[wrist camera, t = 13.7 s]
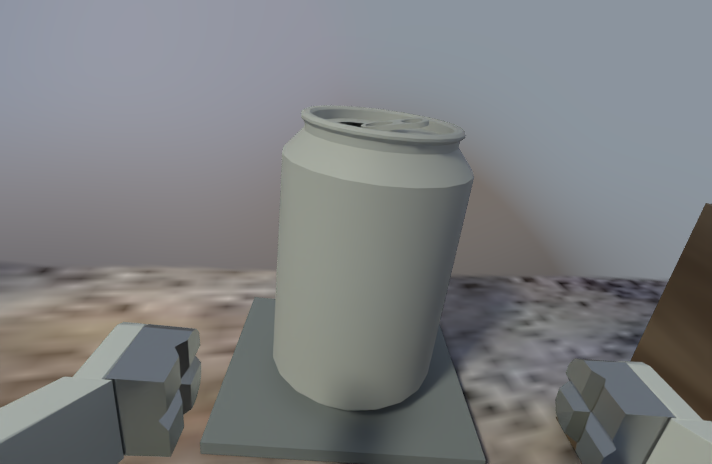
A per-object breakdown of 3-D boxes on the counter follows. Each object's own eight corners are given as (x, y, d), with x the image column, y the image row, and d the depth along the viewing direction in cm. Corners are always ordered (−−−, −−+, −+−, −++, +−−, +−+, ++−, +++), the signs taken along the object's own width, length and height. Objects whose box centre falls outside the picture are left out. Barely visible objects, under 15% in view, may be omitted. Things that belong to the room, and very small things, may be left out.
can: (287, 311, 24) (300, 93, 19) (416, 326, 24) (461, 113, 19) (253, 416, 17) (261, 114, 12) (435, 436, 17) (513, 145, 12)
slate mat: (200, 453, 16) (199, 442, 15) (254, 305, 25) (254, 297, 25) (482, 471, 16) (485, 460, 16) (433, 321, 26) (435, 313, 25)
